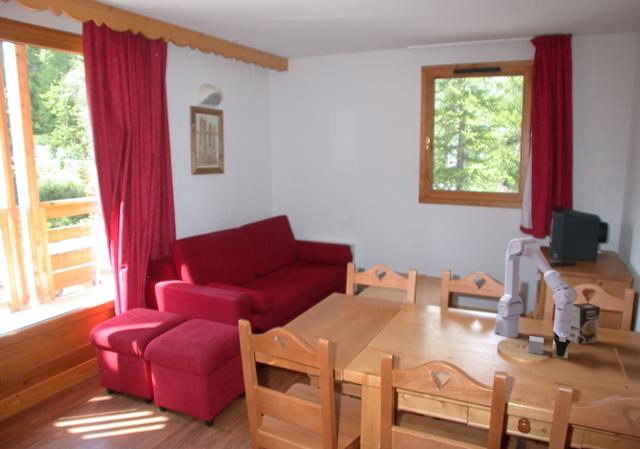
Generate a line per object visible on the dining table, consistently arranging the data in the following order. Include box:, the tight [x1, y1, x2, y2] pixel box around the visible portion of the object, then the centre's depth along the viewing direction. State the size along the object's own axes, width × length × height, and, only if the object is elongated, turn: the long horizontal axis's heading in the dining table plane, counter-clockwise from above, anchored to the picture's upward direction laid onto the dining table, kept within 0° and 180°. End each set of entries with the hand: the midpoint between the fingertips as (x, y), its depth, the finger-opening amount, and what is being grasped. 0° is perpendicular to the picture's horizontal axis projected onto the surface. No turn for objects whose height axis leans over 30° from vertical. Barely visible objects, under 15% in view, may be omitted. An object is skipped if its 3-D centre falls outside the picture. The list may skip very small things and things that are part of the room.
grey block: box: [528, 335, 545, 355], centre depth 186 cm, size 5×5×5 cm
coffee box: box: [567, 302, 601, 345], centre depth 196 cm, size 9×6×16 cm
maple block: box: [551, 338, 569, 360], centre depth 183 cm, size 5×5×5 cm
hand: (559, 352), depth 183 cm, fingers open, 6 cm apart
